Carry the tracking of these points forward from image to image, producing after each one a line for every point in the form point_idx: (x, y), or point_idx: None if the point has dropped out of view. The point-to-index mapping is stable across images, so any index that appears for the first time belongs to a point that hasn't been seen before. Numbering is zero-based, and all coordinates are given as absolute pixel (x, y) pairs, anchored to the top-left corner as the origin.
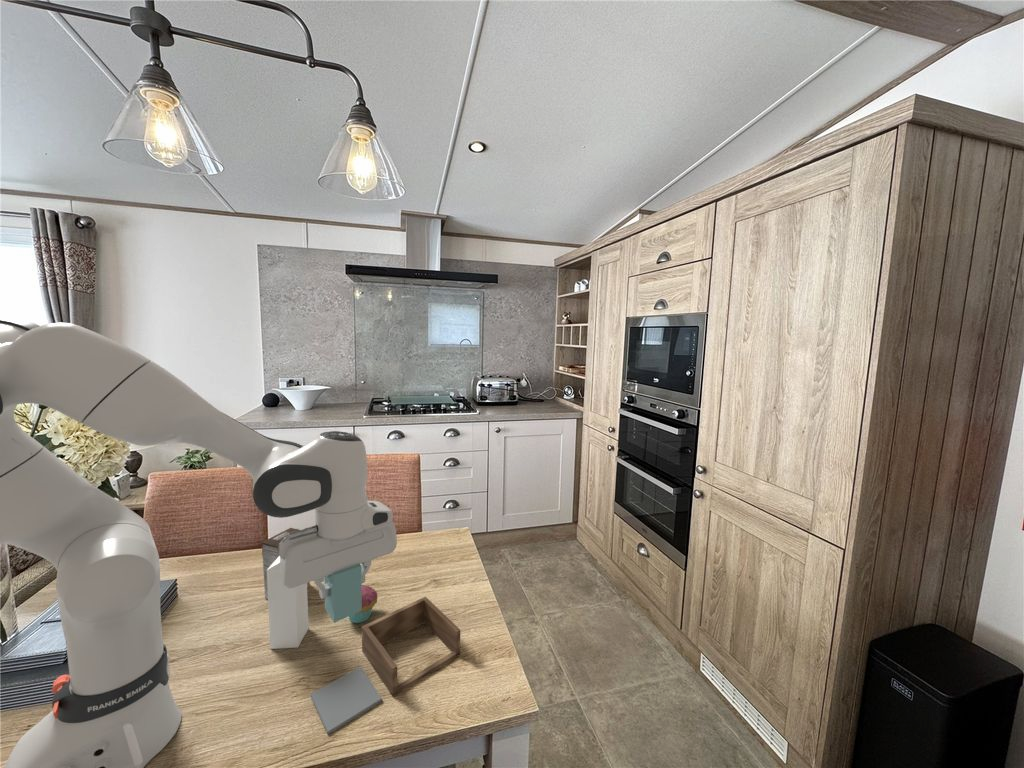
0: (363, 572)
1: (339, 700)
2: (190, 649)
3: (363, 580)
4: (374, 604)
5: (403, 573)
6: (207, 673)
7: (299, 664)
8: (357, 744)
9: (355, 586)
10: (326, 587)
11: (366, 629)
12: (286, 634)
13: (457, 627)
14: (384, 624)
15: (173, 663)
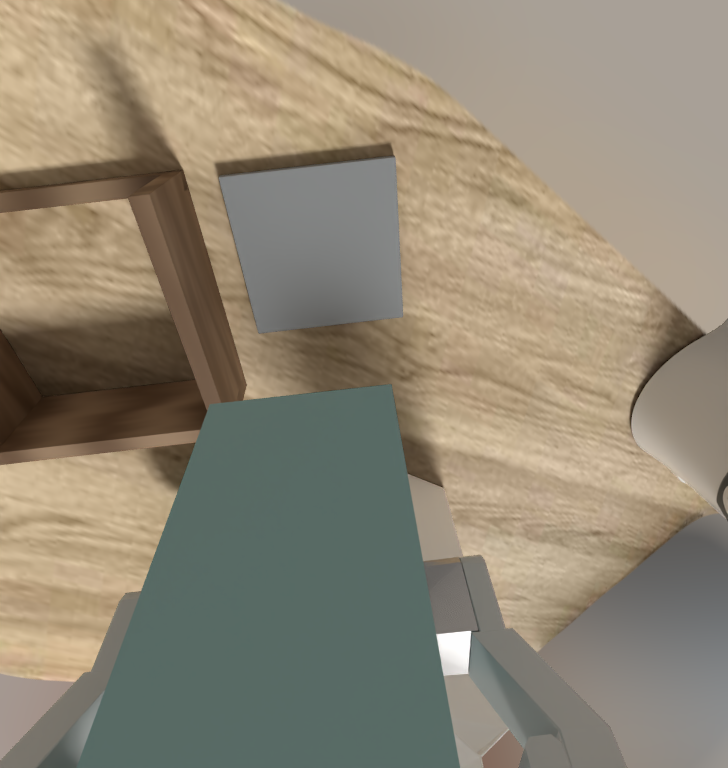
0: (97, 701)
1: (339, 249)
2: (565, 545)
3: (131, 612)
4: None
5: (92, 576)
6: (561, 481)
7: (400, 420)
8: (324, 53)
9: (205, 579)
10: (458, 645)
11: None
12: (419, 504)
13: None
14: (159, 421)
15: (598, 527)
